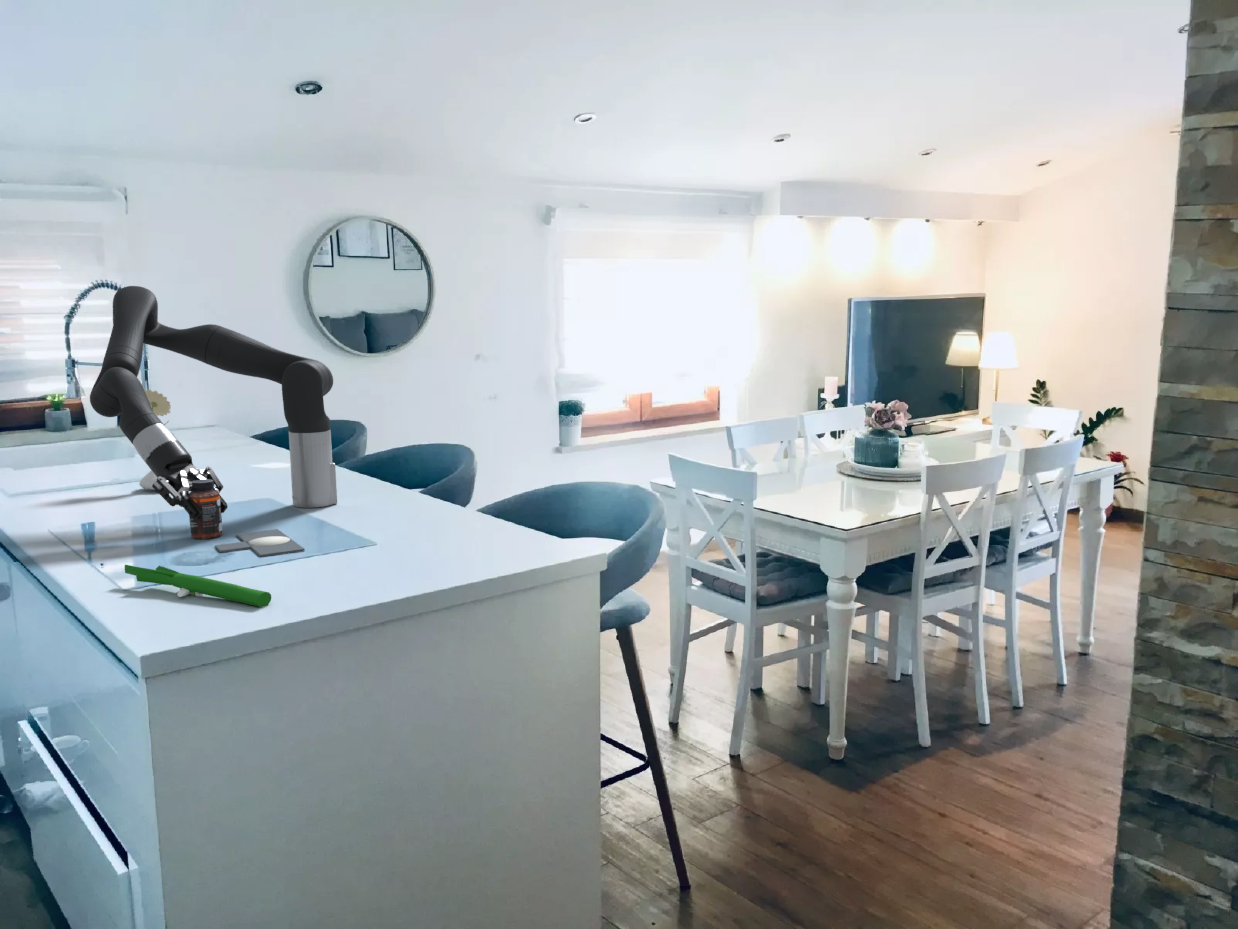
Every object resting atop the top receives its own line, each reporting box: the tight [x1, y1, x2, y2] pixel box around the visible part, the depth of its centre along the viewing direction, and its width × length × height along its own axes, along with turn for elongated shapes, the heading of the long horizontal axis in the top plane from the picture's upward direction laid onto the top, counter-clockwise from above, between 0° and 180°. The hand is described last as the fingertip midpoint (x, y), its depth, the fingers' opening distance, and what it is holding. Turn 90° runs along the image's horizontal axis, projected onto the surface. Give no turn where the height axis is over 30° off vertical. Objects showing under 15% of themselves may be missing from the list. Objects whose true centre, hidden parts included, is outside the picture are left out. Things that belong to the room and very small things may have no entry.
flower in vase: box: [138, 389, 172, 491], centre depth 247 cm, size 13×11×25 cm
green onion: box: [124, 564, 272, 608], centre depth 157 cm, size 5×3×30 cm
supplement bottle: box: [188, 479, 224, 540], centre depth 197 cm, size 6×6×11 cm
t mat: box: [214, 528, 306, 558], centre depth 190 cm, size 14×20×1 cm
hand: (211, 513), depth 196 cm, fingers closed on supplement bottle, 6 cm apart
